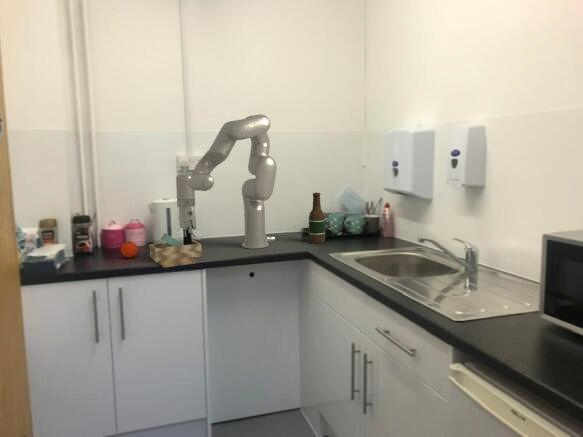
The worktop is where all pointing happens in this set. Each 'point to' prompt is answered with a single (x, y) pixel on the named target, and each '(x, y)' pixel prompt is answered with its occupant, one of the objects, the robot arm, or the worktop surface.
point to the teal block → (171, 240)
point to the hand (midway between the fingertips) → (187, 245)
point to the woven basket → (174, 251)
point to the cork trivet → (177, 262)
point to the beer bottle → (316, 222)
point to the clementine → (129, 249)
